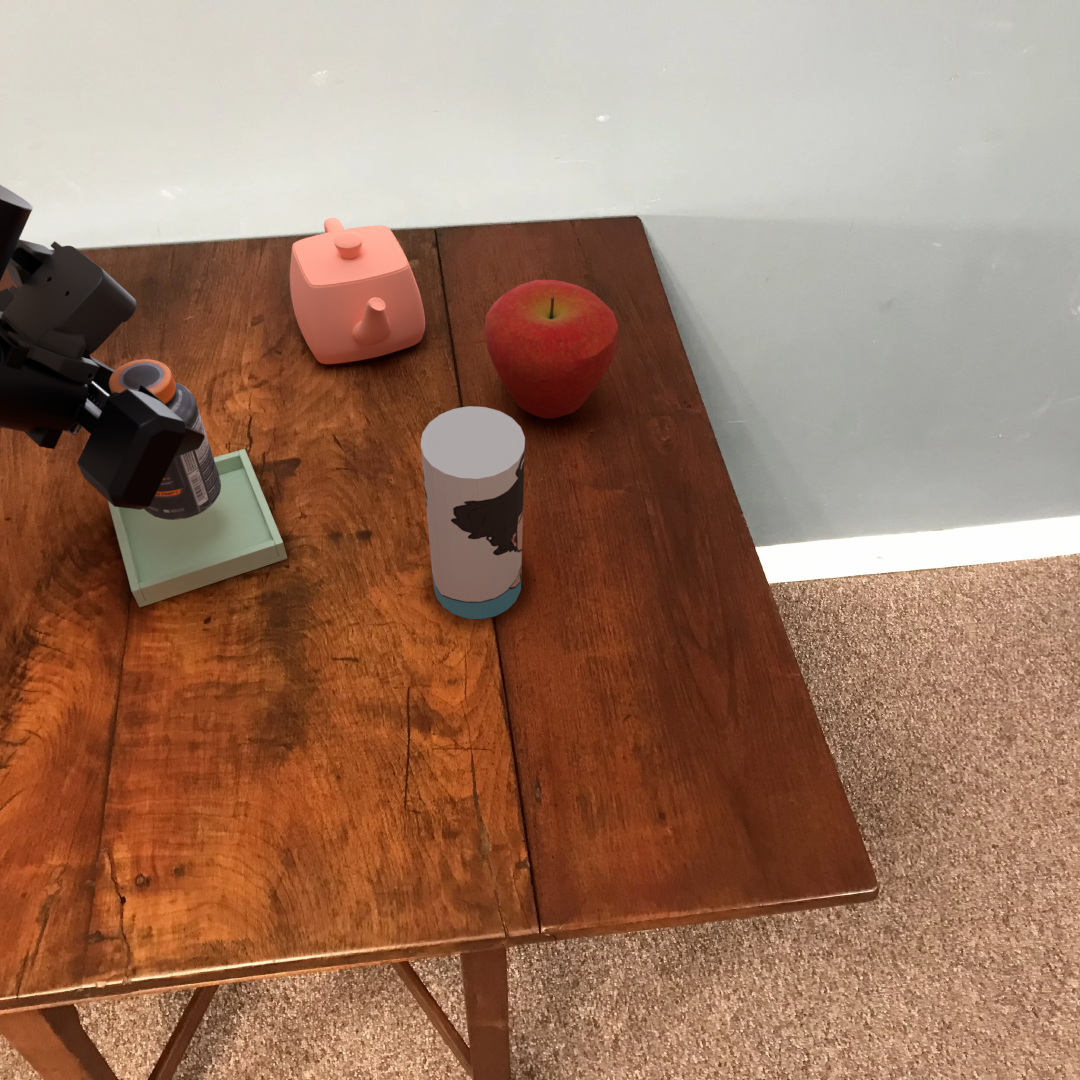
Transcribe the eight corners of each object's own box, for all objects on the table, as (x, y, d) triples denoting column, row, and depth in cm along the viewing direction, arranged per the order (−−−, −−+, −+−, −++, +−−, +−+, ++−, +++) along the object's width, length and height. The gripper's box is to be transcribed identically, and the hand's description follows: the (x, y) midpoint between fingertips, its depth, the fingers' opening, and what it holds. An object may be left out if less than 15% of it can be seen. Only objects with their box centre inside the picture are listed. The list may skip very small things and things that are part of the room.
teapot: (393, 275, 98) (384, 182, 90) (450, 382, 87) (444, 286, 79) (283, 298, 94) (263, 203, 86) (328, 411, 84) (310, 314, 76)
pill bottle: (123, 507, 69) (71, 389, 61) (173, 457, 73) (131, 338, 65) (190, 532, 68) (147, 415, 60) (238, 480, 72) (204, 362, 63)
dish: (139, 607, 69) (131, 591, 68) (112, 506, 76) (104, 489, 74) (287, 558, 73) (283, 542, 71) (249, 465, 79) (244, 448, 78)
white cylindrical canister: (535, 601, 71) (542, 460, 59) (452, 631, 69) (443, 491, 57) (500, 539, 75) (500, 395, 63) (420, 565, 73) (405, 422, 61)
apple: (632, 402, 86) (647, 290, 77) (558, 465, 80) (565, 353, 71) (538, 351, 90) (542, 240, 81) (463, 408, 85) (457, 295, 75)
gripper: (104, 309, 47) (311, 380, 61) (-69, 173, 55) (150, 263, 69) (15, 498, 49) (235, 525, 63) (-140, 341, 57) (86, 396, 71)
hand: (175, 419), depth 66 cm, fingers closed on pill bottle, 6 cm apart
